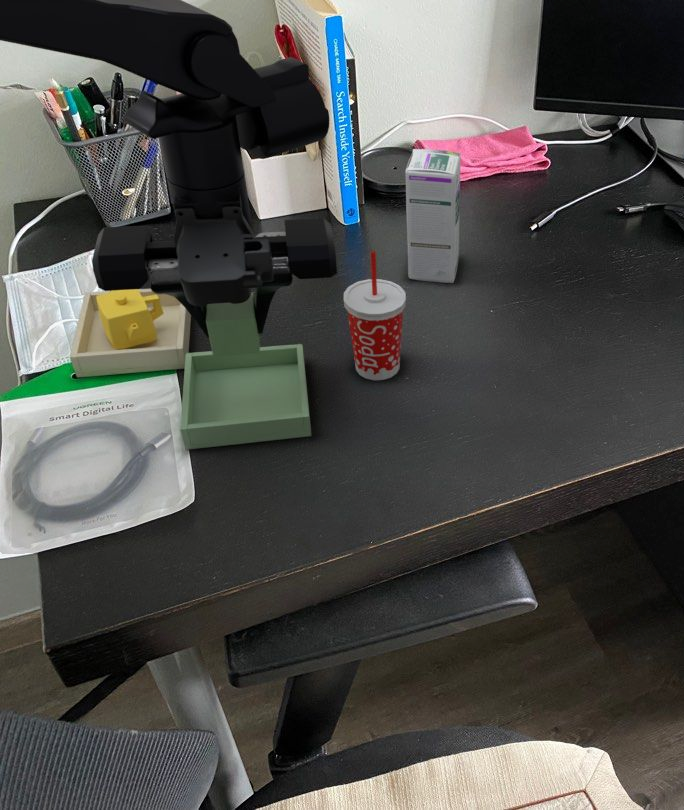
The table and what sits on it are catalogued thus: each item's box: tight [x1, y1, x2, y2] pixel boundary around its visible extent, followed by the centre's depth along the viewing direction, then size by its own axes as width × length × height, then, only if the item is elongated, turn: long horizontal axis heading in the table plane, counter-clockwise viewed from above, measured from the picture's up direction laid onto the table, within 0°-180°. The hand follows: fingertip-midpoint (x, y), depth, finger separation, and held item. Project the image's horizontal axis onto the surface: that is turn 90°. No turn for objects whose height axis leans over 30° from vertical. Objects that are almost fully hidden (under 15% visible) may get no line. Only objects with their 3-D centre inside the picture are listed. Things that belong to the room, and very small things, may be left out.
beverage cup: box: [343, 250, 407, 381], centre depth 82 cm, size 6×6×14 cm
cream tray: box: [69, 288, 192, 378], centre depth 85 cm, size 10×11×3 cm
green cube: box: [206, 292, 261, 357], centre depth 74 cm, size 4×4×4 cm
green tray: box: [179, 343, 312, 451], centre depth 80 cm, size 11×11×3 cm
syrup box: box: [404, 148, 462, 284], centre depth 97 cm, size 6×6×14 cm
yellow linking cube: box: [96, 289, 164, 350], centre depth 84 cm, size 8×6×5 cm
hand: (235, 333), depth 74 cm, fingers closed on green cube, 4 cm apart
